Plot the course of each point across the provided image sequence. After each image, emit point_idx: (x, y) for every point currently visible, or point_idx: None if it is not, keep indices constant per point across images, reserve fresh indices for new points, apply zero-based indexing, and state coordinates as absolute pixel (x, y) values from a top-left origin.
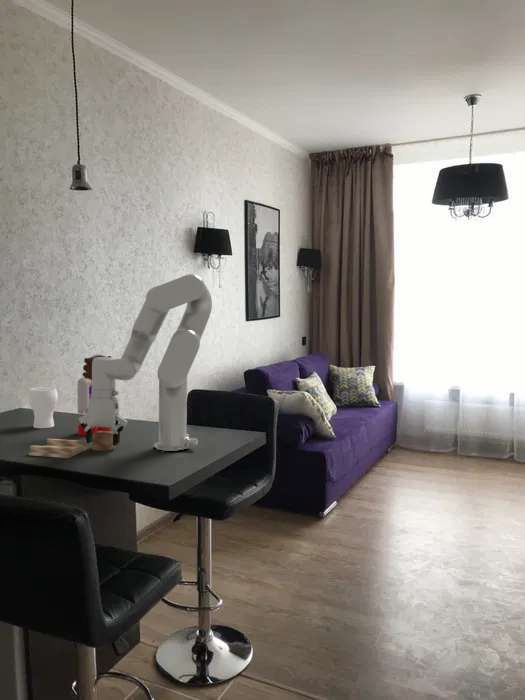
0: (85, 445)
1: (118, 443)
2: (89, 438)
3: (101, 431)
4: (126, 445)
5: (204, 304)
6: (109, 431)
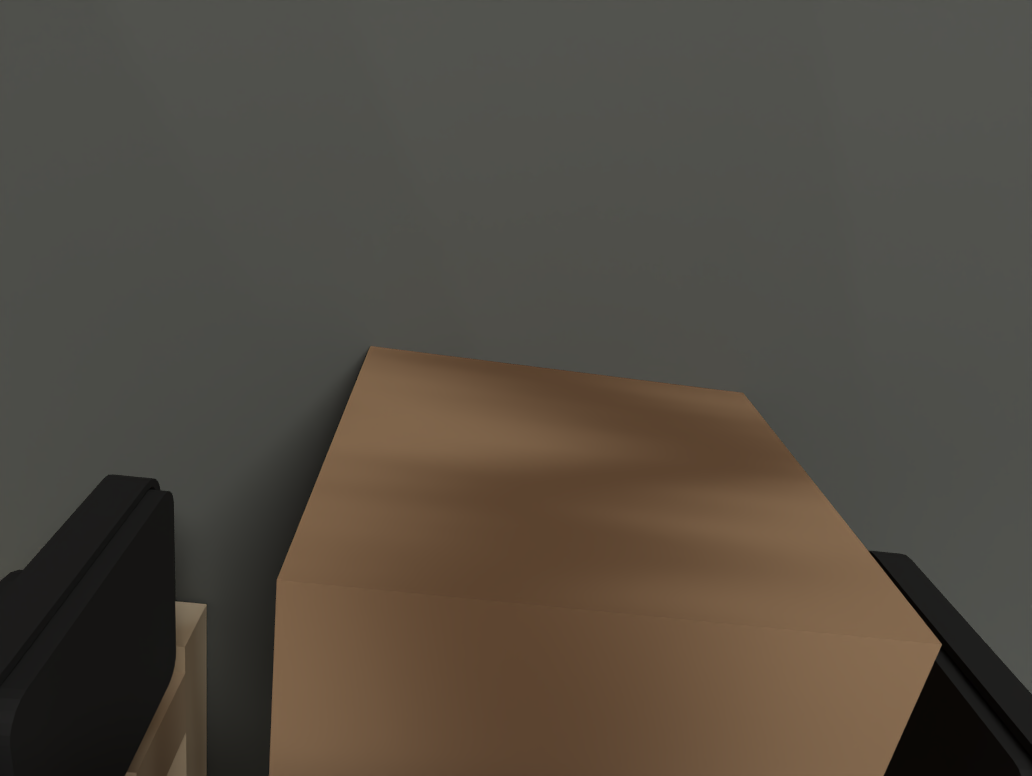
0: (173, 737)
1: (895, 563)
2: (132, 717)
3: (398, 692)
4: (1001, 208)
5: None
6: (716, 645)
